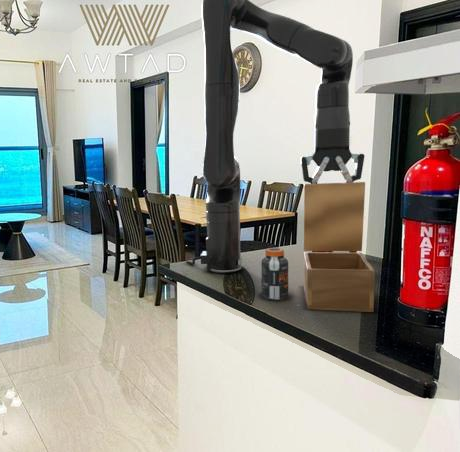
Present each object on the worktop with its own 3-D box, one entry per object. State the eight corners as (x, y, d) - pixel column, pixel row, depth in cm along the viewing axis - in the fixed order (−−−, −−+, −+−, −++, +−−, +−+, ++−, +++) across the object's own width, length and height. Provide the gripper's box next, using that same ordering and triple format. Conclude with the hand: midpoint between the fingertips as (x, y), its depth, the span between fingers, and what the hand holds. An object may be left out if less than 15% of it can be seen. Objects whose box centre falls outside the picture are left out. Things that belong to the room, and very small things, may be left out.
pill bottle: (283, 301, 103) (283, 252, 101) (257, 298, 107) (257, 250, 105) (291, 294, 108) (291, 247, 106) (267, 290, 111) (266, 245, 110)
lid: (365, 182, 102) (361, 176, 107) (304, 184, 106) (303, 178, 111) (361, 251, 107) (357, 242, 112) (303, 250, 111) (302, 242, 116)
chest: (373, 312, 94) (374, 270, 92) (307, 309, 98) (307, 269, 96) (360, 288, 108) (361, 252, 107) (303, 287, 112) (303, 252, 111)
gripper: (363, 125, 108) (361, 196, 111) (298, 130, 113) (298, 198, 116) (369, 124, 101) (367, 199, 104) (299, 129, 106) (299, 201, 109)
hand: (331, 198), depth 110 cm, fingers closed on lid, 6 cm apart
